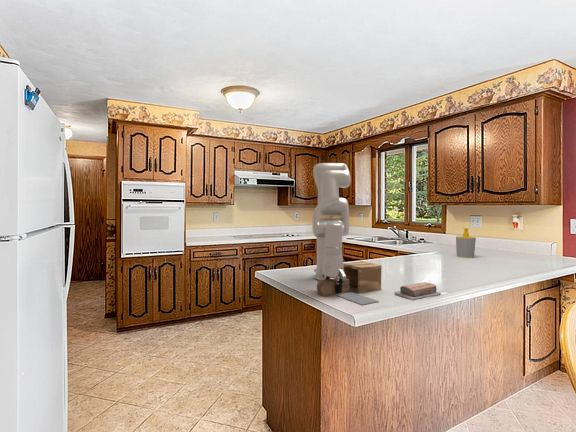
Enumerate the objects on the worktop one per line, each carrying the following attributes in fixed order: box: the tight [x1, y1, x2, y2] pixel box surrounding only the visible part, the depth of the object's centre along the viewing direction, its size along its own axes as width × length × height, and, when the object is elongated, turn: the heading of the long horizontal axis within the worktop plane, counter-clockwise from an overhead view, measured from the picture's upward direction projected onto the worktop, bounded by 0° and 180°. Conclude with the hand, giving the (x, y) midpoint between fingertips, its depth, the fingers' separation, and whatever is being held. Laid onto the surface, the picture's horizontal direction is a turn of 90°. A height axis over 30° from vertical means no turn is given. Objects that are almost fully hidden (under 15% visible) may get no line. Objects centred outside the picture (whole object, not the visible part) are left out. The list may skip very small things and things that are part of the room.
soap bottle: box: [455, 227, 477, 259], centre depth 256 cm, size 13×13×21 cm
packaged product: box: [394, 282, 442, 301], centre depth 151 cm, size 18×5×10 cm
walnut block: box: [316, 278, 350, 297], centre depth 153 cm, size 5×14×6 cm, turn 121°
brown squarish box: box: [343, 260, 383, 294], centre depth 161 cm, size 12×13×11 cm
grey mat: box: [335, 291, 380, 306], centre depth 144 cm, size 16×9×1 cm, turn 31°
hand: (332, 290), depth 153 cm, fingers open, 7 cm apart
